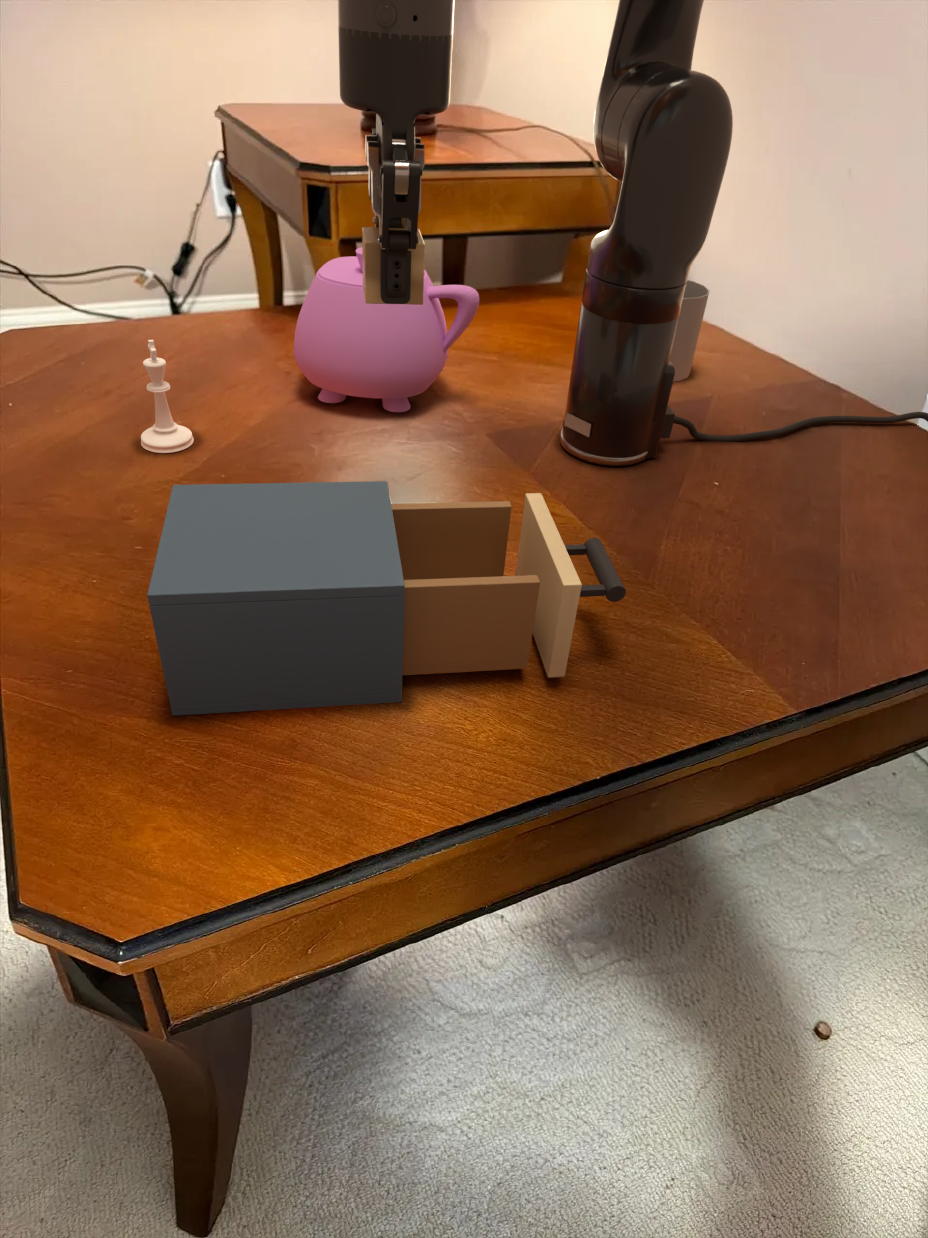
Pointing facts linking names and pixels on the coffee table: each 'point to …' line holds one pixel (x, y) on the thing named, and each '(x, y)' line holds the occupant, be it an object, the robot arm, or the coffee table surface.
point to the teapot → (374, 337)
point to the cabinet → (278, 597)
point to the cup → (688, 328)
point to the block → (373, 267)
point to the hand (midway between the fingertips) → (392, 290)
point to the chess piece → (162, 412)
